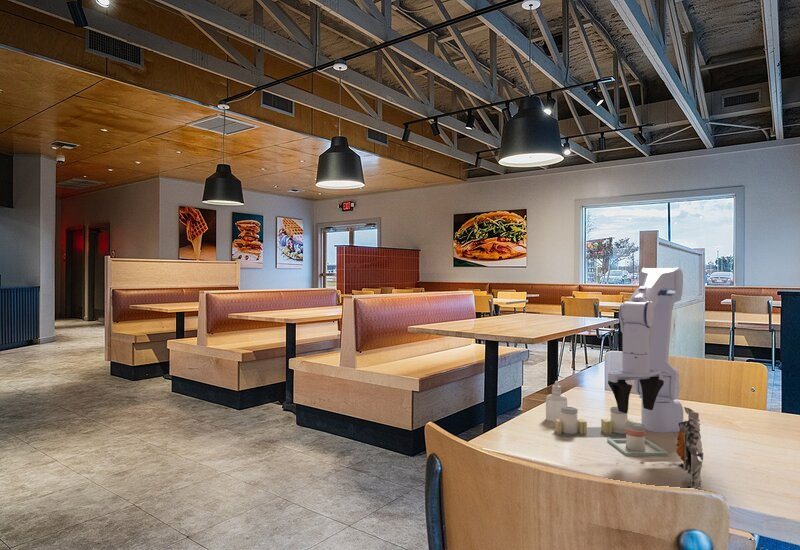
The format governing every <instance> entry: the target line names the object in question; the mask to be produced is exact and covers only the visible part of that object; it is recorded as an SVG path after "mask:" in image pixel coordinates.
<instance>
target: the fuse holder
mask: <svg viewBox="0 0 800 550" xmlns="http://www.w3.org/2000/svg"><path fill="white" fill-rule="evenodd" d="M600 420H601V421H600V425H601V426H599V427H598V426H597V427H595V426H594V427H593V426H592V427H591V426H590V427H589V426H588V422H587V420H585V419H584V418H577V430H578V433H577V434H575V435H569V434H564V433H562V422H561V421H560V420H559V419H555V421H554V425H555V426H553V427H550V429H551V430H552V431H553V432H554V433H556V434H557V436H559V437H560V438H626V434H615V433H612V421H611V419H610V420H609V418H601V419H600ZM627 422H634V421H633V420H632V419H629V418H627Z"/></svg>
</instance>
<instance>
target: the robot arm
mask: <svg viewBox="0 0 800 550" xmlns="http://www.w3.org/2000/svg"><path fill="white" fill-rule="evenodd" d="M638 283H639V287H638V288H636V289H635V290H634V292H633V293H632V295H631V296H630V298H629V300H628V301H624V302H623V303H620V305H619V309H618V320H619V324H620V332H621V333H622V368H620V370H616V371H611V372H608V373H607V376H608V377H607V384H608V386H609V387H610V389H611V391H612V393H613V396H614V399H615V402H616V407H618V410H619V411H620V412H623V413H627V412H628V413H629V402H630V401H629V400H630V395H631V390H632V388H633V387H634V391H635V393H636V395H637V396H639V399H641V419H640V420H641V422H640V423H641V424H644V425H645V431H647V432H648V431H649V432H653V433H661V434H664V433H666V434H667V433H679V431H680V428H679V425H678V423H680V422H684V406H683V405H682V403H681V402H680V401H679V400H678V398H679V396H680V395H679V393H680V380H679V379H680V374H679V372H678V370H677V369H676V368H675V367H673V366H672V365H671V363H669V353H670V352H669V351H670V340H671V330H672V329H671V328H672V327H671V326H672V316H673V309H674V305H675V303H677V302H679V301H681V300H682V296H683V287H684V285H683V284H684V274H683V270H682V269H681V268H680V267H664V268H663V267H656V268H655V267H653V268H652V267H650V268H649V267H648V268H647V267H642V269H641V270H640V272H639V275H638ZM650 327H651V329H650ZM626 381H627V382H626ZM628 381H634V383H633V385H634V386H633V385H632V384H629V383H628ZM628 413H627V414H628Z"/></svg>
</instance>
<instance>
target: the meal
mask: <svg viewBox="0 0 800 550" xmlns="http://www.w3.org/2000/svg"><path fill="white" fill-rule="evenodd" d="M683 410H684V411H685V413H686V414H687V415H688V420H683V422H680V423H678V425H679V428H680V431H679V432H678V435H677V438H676V441H677V443H676V445H675V446H676V447H677V448H676V451H675V452H676V454H677V456H678V457H679V459H680V460H681V461H682V462H681V463H680V464H678V465H677V467H679V468H682V469H683V471H684V472H686V471H687V472H686V473H687V474H690V476H689V477H690V484H688V485H687V486H686V488H695V489H702V480H701V471H702V470H701V469H702V464H703V460H704V452H703V446H702V445H703V443H702V440H701V438H702V435H701V429H700V426H701V423H700V421H701V420H700V418H699V415H700V414H699V412H696V411H694V410H692V409H691V408H689V407H685V406H683ZM698 457H699V459H698ZM698 487H700V488H698Z"/></svg>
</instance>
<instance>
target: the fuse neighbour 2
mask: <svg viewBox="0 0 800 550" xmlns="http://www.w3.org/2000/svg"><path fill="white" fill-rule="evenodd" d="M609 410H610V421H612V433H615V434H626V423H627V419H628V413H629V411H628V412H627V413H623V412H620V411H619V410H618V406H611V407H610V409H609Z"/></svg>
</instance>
